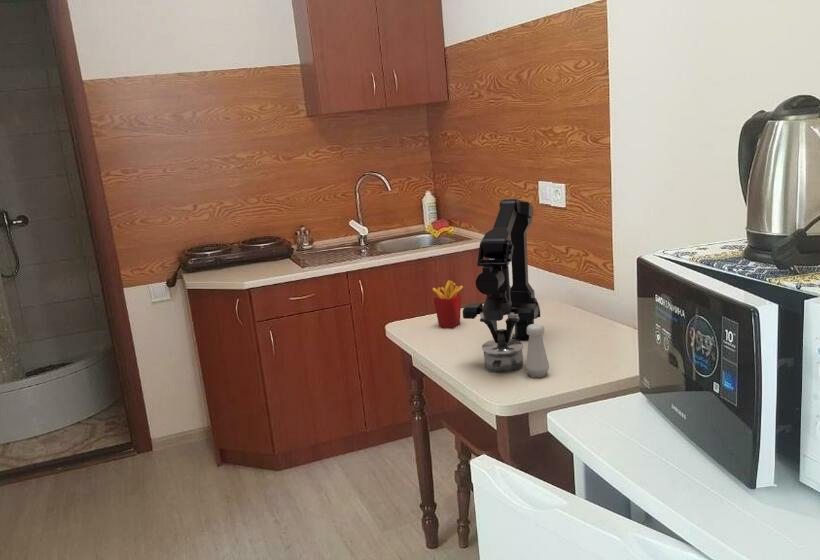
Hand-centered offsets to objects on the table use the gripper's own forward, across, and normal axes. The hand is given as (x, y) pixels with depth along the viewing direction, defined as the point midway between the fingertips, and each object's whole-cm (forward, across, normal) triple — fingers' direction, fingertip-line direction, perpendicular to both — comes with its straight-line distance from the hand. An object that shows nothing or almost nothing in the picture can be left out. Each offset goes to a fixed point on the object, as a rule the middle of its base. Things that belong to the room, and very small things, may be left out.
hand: (502, 342), depth 187 cm
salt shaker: (+7, +10, -5) cm, 13 cm away
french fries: (+7, -25, +34) cm, 43 cm away
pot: (+6, 0, 0) cm, 6 cm away
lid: (+1, 0, 0) cm, 1 cm away
